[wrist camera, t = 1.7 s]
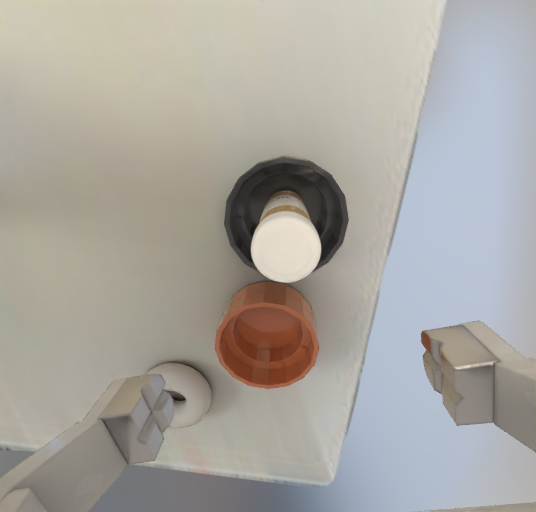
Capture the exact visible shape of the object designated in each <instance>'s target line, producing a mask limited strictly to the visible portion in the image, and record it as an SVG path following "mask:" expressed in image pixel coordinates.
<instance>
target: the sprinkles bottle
mask: <svg viewBox="0 0 536 512" xmlns="http://www.w3.org/2000/svg"><path fill="white" fill-rule="evenodd" d="M251 256H252V259H253V262H254V264H255V266H256V268H257V269H258V270H259V271H260V272H261V273H262V274H263V275H264V276H266V277H267V278H269V279H271V280H273V281H276V282H282V283H290V282H295V281H299V280H301V279H303V278H305V277H306V276H308V275H309V274H310V273H311V272H312V271H313V270H314V269H315V267H316V266H317V264H318V262H319V259H320V256H321V242H320V239H319V236H318V233H317V231H316V229H315V227H314V225H313V224H312V223H311V220H310V218H309V215H308V212H307V209H306V205H305V203H304V201H303V199H302V198H301V197H300V196H299V195H298V194H296V193H295V192H292V191H288V190H286V191H279V192H276V193H274V194H273V195H272V196H270V198H269V199H268V200H267V201H266V204H265V207H264V210H263V213H262V216H261V219H260V223H259V225H258V226H257V228H256V230H255V232H254V235H253V239H252V243H251Z"/></svg>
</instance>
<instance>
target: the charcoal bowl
mask: <svg viewBox="0 0 536 512" xmlns="http://www.w3.org/2000/svg"><path fill="white" fill-rule="evenodd" d="M286 190H288V191H292V192H295V193H296V194H298V195H299V196H300V197H301V198H302V199H303V201H304V203H305V205H306V209H307V212H308V215H309V218H310V220H311V223H312V224H313V225H314V227H315V229H316V231H317V233H318V236H319V239H320V242H321V256H320V259H319V262H318V264H317V266H316V267H315V269H314V270H313V271H315V270H317V269H318V268H320V267H321V266H323V265H325V264H326V263H328V262H329V261H330V260H331V258H332V257H333V256H334V254H335V253H336V251H337V250H338V249H339V247H340V246H341V245H342V243H343V240H344V236H345V232H346V228H347V224H348V220H349V219H348V213H347V206H346V200H345V195H344V194H343V192H342V191H341V189H340V187H339V186H338V184H337V183H336V181H335V180H334V178H333V176H332V175H331V174H330V173H328V172H326V171H325V170H323V169H322V168H320V167H319V166H317V165H316V164H314V163H313V162H311V161H309V160H307V159H303V158H297V157H291V156H280V157H276V158H272V159H268V160H264V161H262V162H260V163H258V164H256V165H255V166H254V167H253V168H251V169H250V170H249V171H247V172H246V173H245V174H244V175H242V176H241V177H240V178H239V179H238V180H237V182H236V184H235V186H234V188H233V189H232V191H231V193H230V195H229V197H228V199H227V201H226V211H225V221H224V225H225V228H226V231H227V235H228V238H229V241H230V245H231V247H232V248H233V249H234V250H235V252H236V253H237V254H238V255H239V257H240V258H241V259H242V260H243V262H244V263H245V264H247V265H248V266H250V267H252V268H253V269H255V270H257V271H259V270H258V269H257V268H256V266H255V264H254V262H253V259H252V256H251V243H252V239H253V235H254V232H255V230H256V228H257V226H258V225H259V223H260V219H261V216H262V213H263V210H264V207H265V204H266V201H267V200H268V199H269V198H270V196H272V195H273V194H274V193H276V192H279V191H286ZM313 271H312V272H313ZM259 272H260V271H259ZM312 272H311V273H312ZM260 273H261V272H260Z"/></svg>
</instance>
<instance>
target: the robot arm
mask: <svg viewBox="0 0 536 512" xmlns="http://www.w3.org/2000/svg"><path fill="white" fill-rule="evenodd" d="M421 342H422V344H423V346H424V347H425V348H426V352H425V353H424V355H423V361H424V367H425V371H426V374H427V377H428V379H429V381H430V383H431V385H432V386H433V388H434V390H435V391H437V392H439V393H441V394H442V396H443V404H444V406H445V407H446V409H447V410H448V412H449V414H450V415H451V417H452V418H453V420H454V422H455V423H456V425H457V426H459V425H470V424H482V423H493V422H494V424H495V425H496V426H498V427H499V428H501V429H502V430H504V431H505V432H507V433H508V434H509V435H511V436H513V437H514V438H515V439H517V440H518V441H520V442H521V443H523V444H524V445H526V446H528V447H529V448H530V449H532V450H533V451H535V452H536V359H535V358H527V359H526V358H525V357H523V356H522V355H521V354H520V353H519V352H518V351H516V350H515V349H514V348H513V347H512V346H511V345H509V344H508V343H507V342H506V341H505V340H503V339H502V338H501V337H500V336H499V335H498V334H496V333H495V332H494V331H493V330H492V329H491V328H489V327H488V326H487V325H486V324H485V323H483V322H481V321H473V322H468V323H462V324H459V325H455V326H449V327H443V328H437V329H431V330H425V331H422V333H421ZM165 384H166V382H165V380H164V379H163V377H162V375H160V374H152V375H144V376H137V377H130V378H124V379H117V380H115V381H113V382H112V383H111V384H110V385H109V387H108V388H107V389H106V391H105V392H104V393H103V394H102V396H101V397H100V398H99V400H98V401H97V402H96V403H95V405H94V406H93V407H92V409H91V410H90V411H89V412H88V414H87V415H86V416H85V418H84V419H83V420H82V421H81V422H77V423H75V424H74V425H73V426H71V427H70V428H68V429H67V430H66V431H64V432H63V433H62V434H60V435H59V436H57V437H56V438H55V439H53V440H52V441H50V442H49V443H48V444H46V445H45V446H44V447H42V448H41V449H39V450H38V451H37V452H35V453H34V454H32V455H31V456H30V457H29V458H27V459H26V460H24V461H23V462H21V463H20V464H19V465H17V466H16V467H14V468H13V469H12V470H10V471H9V472H8V473H6V474H5V475H3V476H2V477H1V478H0V512H88V511H89V510H90V509H91V508H92V507H93V506H94V504H95V503H96V502H97V501H98V500H99V499H100V498H101V497H102V495H103V494H104V493H105V492H106V491H107V490H108V489H109V488H110V486H111V485H112V484H113V483H114V482H115V481H116V480H117V478H118V477H119V476H120V475H121V474H122V473H123V472H124V471H125V469H126V468H127V467H128V465H129V464H136V463H142V462H149V461H155V459H156V457H157V454H158V452H159V450H160V447H161V445H162V443H163V440H164V437H163V432H164V431H165V430H166V429H167V428H168V427H169V426H170V424H171V422H172V419H173V416H174V401H173V398H172V396H171V394H170V393H169V392H167V391H166V390H165V389H164V387H165ZM418 512H536V502H533V503H521V504H507V505H494V506H482V507H469V508H457V509H443V510H431V511H418Z"/></svg>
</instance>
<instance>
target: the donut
mask: <svg viewBox="0 0 536 512" xmlns="http://www.w3.org/2000/svg"><path fill="white" fill-rule="evenodd" d="M152 374H160V375H162V377H163V379H164V380H165V382H166V384H165V387H164V389H165V390H166V391H167V390H171V391H175V392H178V393H180V394H182V395H183V396H184V397H185V398H186V400H184V401H177V400H174V399H173V401H174V416H173V419H172V422H171V424H170V426H169V427H170V428H183V427H188V426H191V425H193V424H195V423H197V422H199V421H200V420H201V419H202V418H203V417H204V416H205V415H206V414H207V412H208V410H209V407H210V405H211V401H212V397H211V389H210V386H209V384H208V382H207V380H206V379H205V378H204V377H203V376H202V375H201V373H200V372H198V371H196V370H195V369H193V368H191V367H189V366H186V365H183V364H178V363H167V364H162V365H159V366H157V367H155V368H153V369H151V370H150V371H148V372H147V373H146V375H152Z"/></svg>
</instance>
